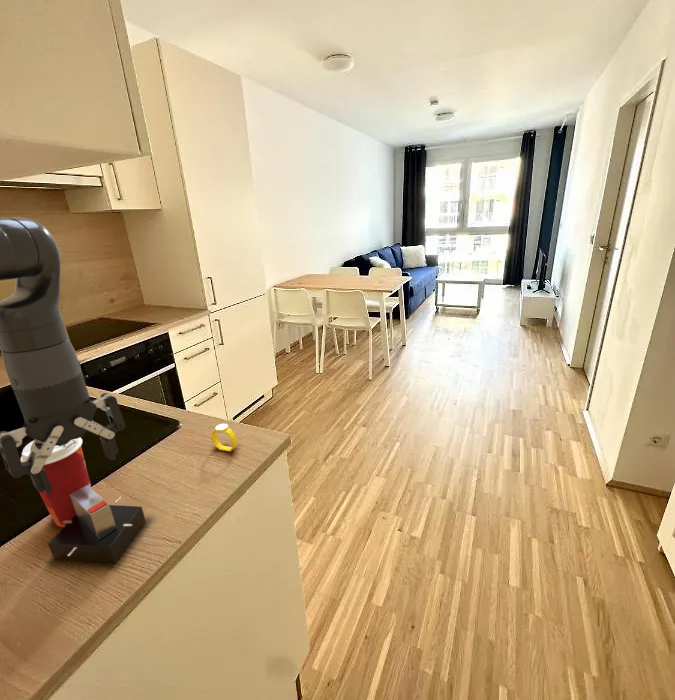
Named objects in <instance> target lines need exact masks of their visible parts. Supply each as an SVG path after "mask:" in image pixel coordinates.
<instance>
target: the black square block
mask: <svg viewBox="0 0 675 700" xmlns="http://www.w3.org/2000/svg"><path fill="white" fill-rule="evenodd" d="M122 498H123V496H119V497H118V498H117V499H116V500H115V502H114V503H115V504H109V505H110V509H111V512H112V515H113V518H114V521H115V525H116V528H117V529H116V530H114V531H113V532H111V533H109V534H108V535H106V536H105V537H103V538H102V539H100V540H98V539H97V537H96V536H95V535H94V534H93V533H92V532H91V531H90V530H89V529H88V528H87V527H86V526H85V525H84V524H83V523H82V522H81V521H80V520H79V519H78V516H77V514H76V515H75V516H74V517H73V518H72V519H71V520H70V521H65V520H64V521H63V523H67V525H66V526H65V527H62V529H61V530H60V531H58V532H57V533H56V534H55V535H54V536H53V538H52V539H50V540H49V542H48V543H47V545H48V548H49V550H50V552H51V555H52V557H53V561H58V562H59V561H60V562H74V563H75V562H76V563H90V564H106V565H116V564H117V563H118V561H119V560H120V559H121V557H122V556H123V555H124V553H125V551H127V549H128V548H129V547H130V545H131V543H132V542H133V541H134V540H135V538H136V537H137V536H138V534H139V533H140V532H141V530H142V529H143V527H144V526H145V524H146V523H147V521H146V518H145V514H144V510H143V506H137V505H117V503H119V501H121V499H122Z"/></svg>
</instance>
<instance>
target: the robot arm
mask: <svg viewBox="0 0 675 700" xmlns="http://www.w3.org/2000/svg"><path fill="white" fill-rule="evenodd" d="M61 258H62V257H61V254H60V248H59V246H58V243H57V241H56V240H55V237H54V236H53V234H51V232H50V231H49V230H48V229H47V227H46V226H44V225H43V224H42V223H40V222H39V221H37V220H35V219H33V218H30V217H23V216H21V217H19V216H12V217H10V216H9V217H7V216H6V217H0V282H2V281H8V280H14V279H15V286H14V292H13V293H11V294H10V295H8V296H7V297H5V298H4V299H2V300H0V352H1V357H2V360H3V366H4V370H5V372H6V375H7V378H8V380H9V383H10V385H11V388H12V391H13V394H14V396H15V398H16V401H17V403H18V406H19V409H20V411H21V414H22V417H23V420H24V421H23V426H22V427H20V428H17V429H13V430H11V431H7V430H1V431H0V454H1V457H2V460H3V463H4V466H5V469H6V471H7V472H8V473H9V474H10V475H11V477H12V478H13V479H19V478H21V477H22V476H25V475H29V476H30V480H31V482H32V484H33V487H34V488H35V489H36V490H37V491H38V492H39V491H40V492H43V491H45V493H46V494H47V493H49V492H51V491H53V489H52V487H51V484H50V482H49V479H48V476H47V474H46V471H45V470H44V469H43V466H44V463H45V461H46V459H47V458H48V457H50V455H51V453H52V451H53V449H54V447H55V446H62V445H64V444H66V443H68V442H69V441H71V440H73V439H77V438H82V437H84V436H85V434H86V433H87V432H91V433H92V434H95V435H97V436H99V440H100V443H101V447H102V450H103V453H104V456H105V457H106V459H108V460H109V461H113V460H116V459H117V455H118V454H119V447H118V445H117V441H116V438H115V436H116V434H117V433H118V432H120V431H123V430H124V429H125V428H126V423H125V420H124V417H123V414H122V410H121V408H120V405H119V402H118V400H117V397H115V396H113V395H111V394H109V393H108V392H103V393H102V394H100V397H99V398H97V399H94V400H91V398H90V394H89V391H88V387H87V385H86V381H85V378H84V374H83V371H82V368H81V366H82V365H81V361H80V359H78V354H77V352H76V350H75V348H74V346H73V344H72V342H71V340H70V339H71V338H70V337H69V333H68V330H67V326H66V323H65V320H64V318H63V314H62V311H61V281H62V280H61V275H62V261H61ZM98 409H100V410H102V411H103V412H105V414H106V416H107V419H108V421H109V423H108V424H107V425H106V426H104V425H102V424H100V423H98V422H96V421H94V420H93V419H94V417H95V415H96V412H97V410H98ZM25 437H29V438H32V439H33V441H34V442H33V444H32V446H31V451H30V454H29V456H28V458H27V460H26V462H21V457H20V454H19V451H18V448H19V447H21V445H22V444H23V439H24V438H25Z"/></svg>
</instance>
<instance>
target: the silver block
mask: <svg viewBox="0 0 675 700" xmlns="http://www.w3.org/2000/svg"><path fill="white" fill-rule="evenodd" d="M70 497H71V500H72V502H73V505H74V508H75V511H76V514H77V516H78V519H79V520H80V521H81V522H82V523H83V524H84V525H85V526H86V527H87V528H88V529H89V530H90V531H91V532H92V533H93V534H94V535H95V536H96V537H97V539H98V540H100V539H102V538H103V537H105V536H106V535H108V534H109V533H111V532H113V531H114V530H116V529H117V528H116V525H115V521H114V518H113V515H112V512H111V509H110V505H111V504H110V503H109V502H108V501H106V500H105V499H104V498H103V497H102V496H101V495H100V494H99V493H97V492H96V491H95V490H94V489H93V488H92V487H91V488H90V487H89V486H88V485H87V486H85V487H83V488H81V489H79V490H77V491H75V492H73V493H72V494H70Z"/></svg>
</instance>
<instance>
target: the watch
mask: <svg viewBox="0 0 675 700" xmlns="http://www.w3.org/2000/svg"><path fill="white" fill-rule="evenodd" d="M214 427H215V428H214V429H213V430H212V432H211V434H210V437H211V441H212V443H213V445H214V446H215V448H217V449H218V450H219V451H225V452H232V451H233V450H234V449H235V448H236V447H237V445H238V439H237V436H236V434H235V432H234V431H233V430H232V429H231V428H229V424H228V423H220V424H218V425H216V426H214ZM217 433H219V434H221V433H225V434H226V435H227V436H228V437H229V438H230V440H231V442H232V445H231V446H228V445H223V444H222V443H221V442H220V440H219V438H218V435H217Z"/></svg>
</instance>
